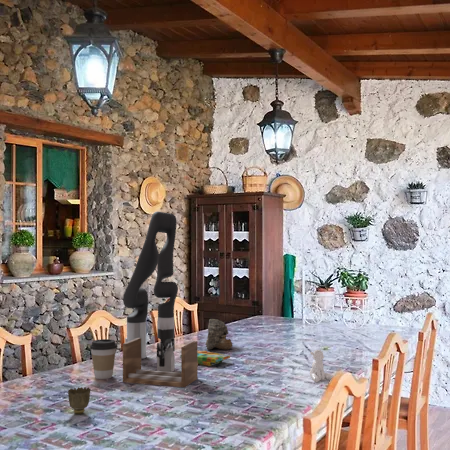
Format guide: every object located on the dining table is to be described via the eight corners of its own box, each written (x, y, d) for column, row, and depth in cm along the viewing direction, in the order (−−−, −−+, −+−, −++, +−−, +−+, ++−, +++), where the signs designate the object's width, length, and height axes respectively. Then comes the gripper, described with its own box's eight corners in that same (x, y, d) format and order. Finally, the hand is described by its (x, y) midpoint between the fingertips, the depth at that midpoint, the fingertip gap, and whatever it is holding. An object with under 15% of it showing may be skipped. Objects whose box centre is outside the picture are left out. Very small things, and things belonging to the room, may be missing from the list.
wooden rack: (122, 382, 246) (122, 343, 246) (138, 374, 260) (138, 337, 260) (184, 387, 238) (184, 347, 238) (197, 378, 251) (197, 341, 251)
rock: (200, 314, 320) (228, 310, 317) (208, 331, 329) (235, 327, 326) (198, 342, 306) (227, 338, 303) (206, 359, 315) (234, 355, 312)
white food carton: (171, 372, 264) (171, 348, 264) (157, 370, 266) (157, 347, 266) (174, 370, 267) (174, 347, 267) (160, 369, 269) (160, 346, 269)
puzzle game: (195, 348, 293) (230, 353, 282) (195, 358, 293) (230, 363, 282) (180, 352, 283) (215, 357, 272) (180, 362, 283) (215, 368, 272)
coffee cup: (122, 375, 258) (122, 339, 258) (108, 381, 247) (108, 344, 247) (98, 373, 262) (98, 338, 262) (84, 379, 251) (84, 342, 251)
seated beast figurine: (315, 382, 245) (315, 353, 245) (302, 378, 253) (302, 349, 253) (334, 380, 249) (333, 350, 249) (321, 375, 257) (321, 347, 257)
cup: (69, 410, 208) (69, 386, 208) (91, 409, 209) (91, 386, 209) (66, 417, 201) (66, 392, 201) (88, 416, 201) (88, 392, 201)
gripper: (164, 324, 275) (164, 360, 274) (151, 329, 261) (151, 367, 261) (180, 325, 272) (180, 361, 272) (167, 330, 259) (167, 368, 259)
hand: (165, 364), depth 267 cm, fingers open, 8 cm apart
